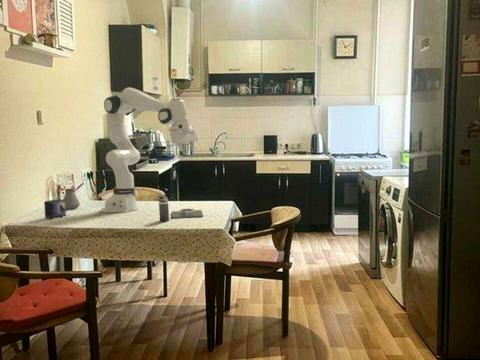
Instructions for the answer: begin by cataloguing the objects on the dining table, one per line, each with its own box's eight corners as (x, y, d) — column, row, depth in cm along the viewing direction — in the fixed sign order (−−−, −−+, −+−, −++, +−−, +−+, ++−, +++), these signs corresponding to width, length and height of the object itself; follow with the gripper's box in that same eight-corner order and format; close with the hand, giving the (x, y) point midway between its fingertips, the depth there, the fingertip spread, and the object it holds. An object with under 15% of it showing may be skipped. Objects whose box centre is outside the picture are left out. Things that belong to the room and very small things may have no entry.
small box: (51, 219, 285) (50, 202, 284) (44, 218, 289) (43, 201, 287) (66, 216, 294) (65, 199, 293) (59, 215, 297) (58, 198, 296)
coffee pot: (72, 210, 312) (71, 187, 310) (57, 209, 316) (56, 187, 314) (92, 204, 333) (91, 182, 331) (78, 203, 336) (76, 182, 334)
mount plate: (171, 218, 280) (171, 213, 280) (171, 213, 296) (171, 208, 295) (202, 217, 282) (202, 211, 282) (201, 211, 298) (201, 206, 298)
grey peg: (159, 222, 272) (158, 200, 270) (159, 220, 277) (158, 199, 275) (169, 221, 272) (168, 200, 271) (169, 219, 278) (168, 198, 276)
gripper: (188, 127, 286) (193, 150, 286) (166, 128, 269) (171, 152, 269) (197, 124, 283) (202, 148, 283) (175, 125, 265) (180, 150, 266)
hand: (187, 150), depth 276 cm, fingers open, 8 cm apart
